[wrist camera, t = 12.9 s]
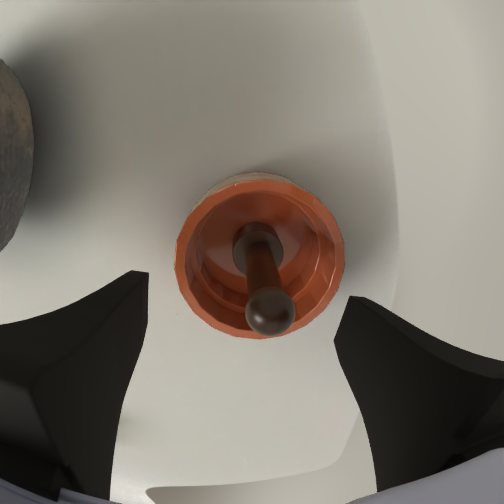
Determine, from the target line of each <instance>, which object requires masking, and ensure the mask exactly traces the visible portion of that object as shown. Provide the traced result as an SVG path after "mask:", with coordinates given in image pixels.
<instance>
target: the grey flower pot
mask: <svg viewBox="0 0 504 504" xmlns="http://www.w3.org/2000/svg"><path fill="white" fill-rule="evenodd" d="M33 152H34V134H33V126H32V117H31V110H30V107H29V103H28V100H27V96H26V94H25V92H24V90H23V88H22V86H21V84H20V83H19V81H18V79H17V77H16V75H15V73H14V72H13V70H12V69H11V68H10V67H9V66H7V65H6V64H5V62H4V61H3V60H2V59H0V252H1V251H2V250H3V248H4V247H5V246H6V245H7V244H8V242H9V241H10V240H11V238H12V237H13V235H14V233H15V231H16V228H17V226H18V224H19V221H20V219H21V216H22V214H23V210H24V206H25V202H26V198H27V195H28V191H29V188H30V182H31V175H32V169H33Z"/></svg>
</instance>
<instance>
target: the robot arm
mask: <svg viewBox="0 0 504 504" xmlns="http://www.w3.org/2000/svg"><path fill="white" fill-rule="evenodd" d="M148 282H149V273H147V272H140V271H133V270H131V271H129V272H127V273H125V274H124V275H122V276H120V277H119V278H117V279H116V280H114V281H112V282H111V283H109V284H107V285H106V286H104V287H102V288H101V289H99V290H97V291H95V292H93V293H91V294H90V295H88V296H86V297H84V298H82V299H80V300H78V301H76V302H74V303H72V304H70V305H68V306H65V307H63V308H60V309H58V310H55V311H53V312H50V313H47V314H43V315H40V316H37V317H33V318H30V319H27V320H23V321H18V322H13V323H8V324H2V325H0V504H121V503H116V502H112V501H110V485H111V474H112V465H113V456H114V449H115V442H116V436H117V430H118V424H119V419H120V414H121V409H122V404H123V401H124V397H125V394H126V391H127V388H128V385H129V382H130V379H131V376H132V374H133V371H134V368H135V365H136V363H137V360H138V357H139V354H140V352H141V349H142V346H143V341H144V337H145V333H146V328H147V324H148ZM334 344H335V348H336V352H337V355H338V359H339V362H340V365H341V367H342V369H343V372H344V374H345V376H346V379H347V381H348V383H349V385H350V387H351V390H352V392H353V394H354V397H355V399H356V401H357V403H358V406H359V408H360V411H361V414H362V416H363V419H364V423H365V427H366V430H367V434H368V438H369V443H370V447H371V452H372V456H373V462H374V469H375V475H376V484H377V493H375V494H372V495H369V496H365V497H362V498H359V499H356V500H354V501H352V502H349V503H347V504H504V361H500V360H496V359H492V358H488V357H484V356H481V355H477V354H474V353H471V352H468V351H466V350H463V349H460V348H458V347H455V346H453V345H451V344H448V343H446V342H444V341H442V340H440V339H438V338H436V337H434V336H432V335H430V334H428V333H426V332H424V331H422V330H421V329H419V328H417V327H415V326H414V325H412V324H410V323H409V322H407V321H405V320H404V319H402V318H401V317H398V316H397V315H396V314H394V313H392V312H391V311H389V310H387V309H386V308H384V307H383V306H381V305H379V304H377V303H375V302H374V301H372V300H370V299H367V298H365V297H358V296H349V299H348V302H347V305H346V308H345V311H344V313H343V316H342V319H341V322H340V325H339V327H338V330H337V333H336V335H335V338H334Z"/></svg>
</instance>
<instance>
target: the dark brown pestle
mask: <svg viewBox="0 0 504 504" xmlns="http://www.w3.org/2000/svg"><path fill="white" fill-rule="evenodd" d="M283 254H284V252H283V246H282V244H281V242H280V239H279V237H278V235H277V233H276V231H275V230H274V229H273V228H272V227H271V226H269V225H267V224H265V223H262V222H251V223H248V224H245V225H244V226H242V227H241V228H240V229H239V230H238V231H237V232H236V234H235V236H234V238H233V250H232V255H233V261H234V264H235V266H236V267H237V269H238V270H239V271H240V272H242V273H243V274H244V275H246V277H247V288H248V298H249V299H248V300H247V303H246V306H245V317H246V321H247V323H248V325H249V326H250V327H251V329H252V330H253V331H255V332H256V333H258V334H260V335H263V336H268V337H272V336H277V335H280V334H282V333H284V332H285V331H287V330H288V329H289V328H290V326H291V325H292V323H293V321H294V318H295V304H294V302H293V300H292V298H291V296H290V295H289V294H288V293H287V292H286V291H285V290H284V287H283V284H282V281H281V278H280V275H279V272H278V268H279V266H280V265H281V263H282V260H283Z"/></svg>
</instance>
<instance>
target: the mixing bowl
mask: <svg viewBox="0 0 504 504" xmlns="http://www.w3.org/2000/svg"><path fill="white" fill-rule="evenodd" d="M251 222H262V223H265V224H267V225H269V226H271V227H272V228H273V229H274V230H275V231H276V233H277V235H278V237H279V239H280V242H281V244H282V246H283V252H284V254H283V260H282V263H281V265H280V266H279V268H278V272H279V275H280V278H281V281H282V284H283V287H284V290H285V291H286V292H287V293H288V294H289V295H290V296H291V298H292V300H293V302H294V304H295V318H294V321H293V323H292V325H291V326H290V328H289V329H288V330H287V331H285V332H284V333H282V334H280V335H277V336H272V337H279V336H283V335H286V334H288V333H290V332H293V331H295V330H297V329H299V328H301V327H304V326H305V325H307V324H308V323H309V322H311V321H312V320H313V319H314V318H316V317H317V316H318V315H319V314H320V313H321V312H323V311H324V310H325V308H326V307H327V306H328V304H329V303H330V301H331V300H332V298H333V297H334V295H335V294H336V292H337V289H338V288H339V284H340V281H341V278H342V274H343V271H344V266H345V255H344V242H343V238H342V235H341V232H340V230H339V227H338V225H337V222H336V220H335V218H334V216H333V215H332V214H331V213H330V212H329V210H328V209H327V208H326V207H325V206H324V205H323V204H322V202H321V201H320V200H319V199H318V198H317V197H316V196H314V195H313V194H311V193H310V192H308V191H307V190H305V189H304V188H302V187H301V186H299V185H297V184H295V183H294V182H292V181H290V180H288V179H286V178H285V177H282V176H280V175H274V174H269V173H263V172H252V173H245V174H239V175H235V176H232V177H230V178H228V179H226V180H224V181H222V182H220V183H218V184H216V185H214V186H213V187H211V188H210V189H209V190H208V191H207V192H206V193H205V194H204V195H203V196H202V197H201V198H200V199H199V201H198V202H197V203H196V204H195V206H194V207H193V209H192V211H191V212H190V214H189V216H188V217H187V219H186V221H185V223H184V226H183V228H182V230H181V232H180V234H179V236H178V239H177V242H176V249H175V260H174V270H175V274H176V278H177V282H178V286H179V290H180V292H181V294H182V295H183V297H184V298H185V300H186V301H187V303H188V305H189V306H190V308H191V309H192V311H193V312H194V313H195V314H196V315H198V316H199V317H200V318H201V319H202V320H204V321H205V322H206V323H207V324H209V325H210V326H211V327H213V328H215V329H217V330H220V331H222V332H224V333H227V334H229V335H232V336H235V337H242V338H251V339H266V338H272V337H268V336H263V335H260V334H258V333H256V332H255V331H253V330H252V329H251V327H250V326H249V325H248V323H247V321H246V317H245V306H246V303H247V300H248V299H249V298H248V288H247V277H246V275H244V274H243V273H242V272H240V271H239V270H238V269H237V267H236V266H235V264H234V261H233V255H232V250H233V238H234V236H235V234H236V232H237V231H238V230H239V229H240V228H241V227H242V226H244V225H245V224H248V223H251Z"/></svg>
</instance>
